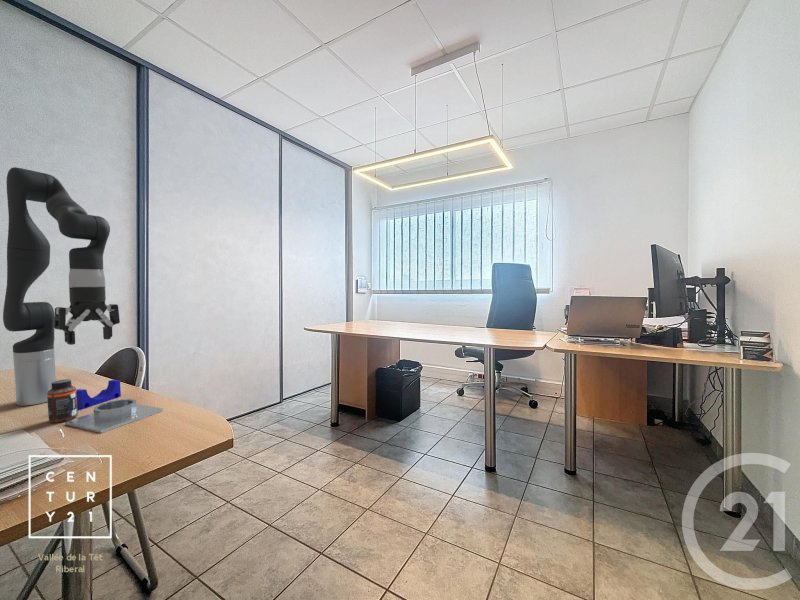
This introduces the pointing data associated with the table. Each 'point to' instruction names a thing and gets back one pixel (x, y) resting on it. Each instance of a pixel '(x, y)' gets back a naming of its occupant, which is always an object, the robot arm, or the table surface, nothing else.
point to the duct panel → (114, 423)
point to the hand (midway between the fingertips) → (89, 341)
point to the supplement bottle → (62, 401)
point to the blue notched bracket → (103, 396)
